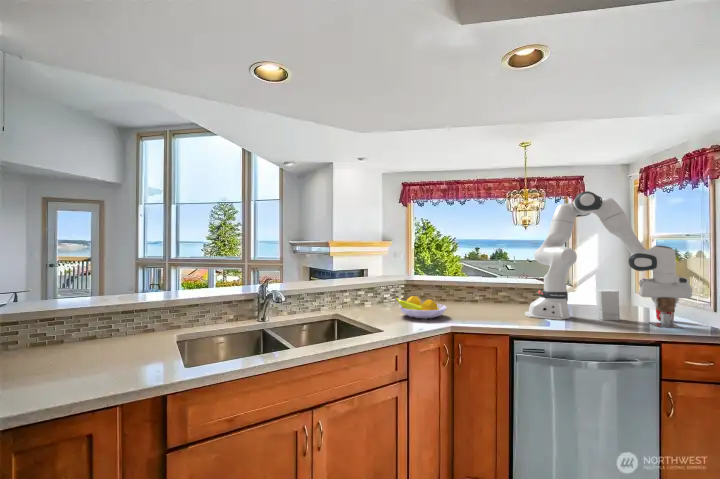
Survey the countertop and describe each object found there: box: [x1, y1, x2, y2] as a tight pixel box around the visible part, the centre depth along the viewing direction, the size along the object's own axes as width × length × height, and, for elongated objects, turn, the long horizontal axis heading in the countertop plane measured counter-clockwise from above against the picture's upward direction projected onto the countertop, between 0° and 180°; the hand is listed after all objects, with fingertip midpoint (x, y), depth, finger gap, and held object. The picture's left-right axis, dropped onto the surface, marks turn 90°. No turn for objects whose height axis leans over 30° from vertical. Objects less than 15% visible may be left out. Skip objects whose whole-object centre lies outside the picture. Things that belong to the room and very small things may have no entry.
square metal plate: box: [648, 313, 685, 330], centre depth 172 cm, size 10×10×6 cm
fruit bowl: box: [395, 295, 448, 319], centre depth 199 cm, size 28×27×11 cm
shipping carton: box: [655, 298, 676, 313], centre depth 172 cm, size 5×5×7 cm
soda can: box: [655, 309, 675, 323], centre depth 182 cm, size 7×7×12 cm
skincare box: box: [596, 289, 621, 322], centre depth 187 cm, size 8×7×16 cm
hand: (665, 306), depth 172 cm, fingers closed on shipping carton, 5 cm apart
